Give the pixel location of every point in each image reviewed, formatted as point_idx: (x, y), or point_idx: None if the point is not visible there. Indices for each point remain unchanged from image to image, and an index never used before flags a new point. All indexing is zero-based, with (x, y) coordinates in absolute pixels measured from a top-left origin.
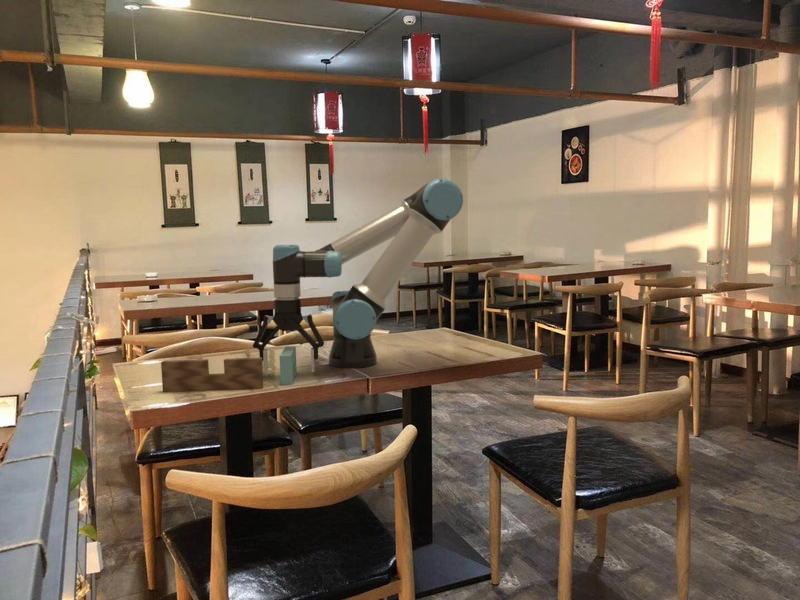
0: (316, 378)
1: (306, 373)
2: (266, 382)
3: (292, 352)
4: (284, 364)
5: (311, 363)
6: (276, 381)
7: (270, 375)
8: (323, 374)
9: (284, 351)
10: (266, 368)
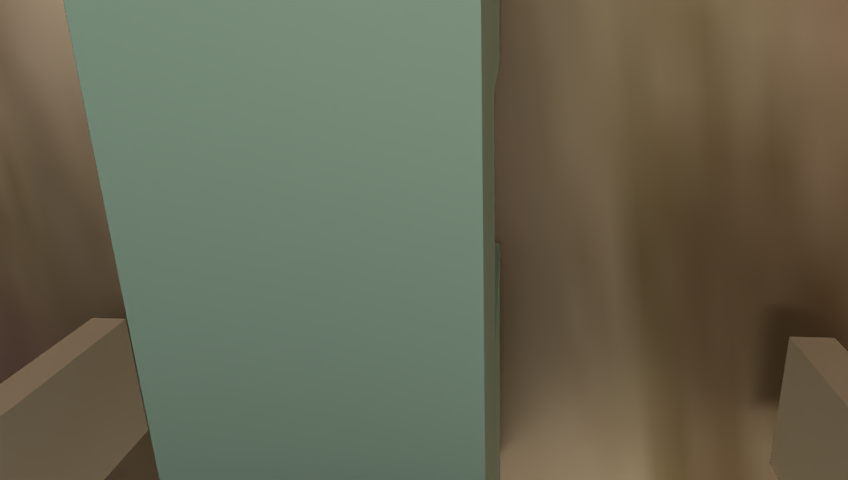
0: (70, 170)
1: None
2: (756, 18)
3: (87, 107)
4: None
5: (46, 379)
6: (599, 67)
7: (710, 435)
8: None
9: (407, 316)
10: (816, 380)
